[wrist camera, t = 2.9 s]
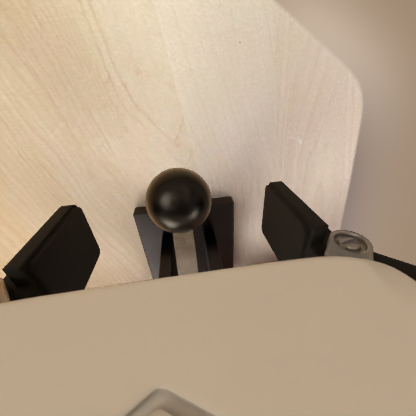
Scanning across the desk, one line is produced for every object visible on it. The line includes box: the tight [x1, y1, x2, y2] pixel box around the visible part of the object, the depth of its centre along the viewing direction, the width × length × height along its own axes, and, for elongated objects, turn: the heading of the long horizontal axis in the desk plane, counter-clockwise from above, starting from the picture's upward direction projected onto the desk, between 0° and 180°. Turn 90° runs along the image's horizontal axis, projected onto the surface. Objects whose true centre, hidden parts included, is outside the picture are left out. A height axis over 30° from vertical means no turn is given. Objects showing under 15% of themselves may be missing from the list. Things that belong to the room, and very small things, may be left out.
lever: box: [145, 168, 212, 276], centre depth 12 cm, size 13×4×4 cm, turn 4°
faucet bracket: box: [133, 197, 234, 279], centre depth 17 cm, size 10×9×13 cm
